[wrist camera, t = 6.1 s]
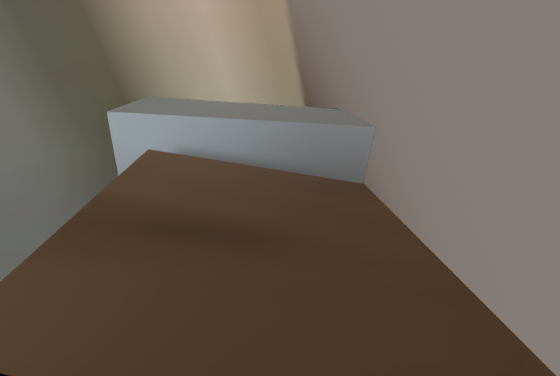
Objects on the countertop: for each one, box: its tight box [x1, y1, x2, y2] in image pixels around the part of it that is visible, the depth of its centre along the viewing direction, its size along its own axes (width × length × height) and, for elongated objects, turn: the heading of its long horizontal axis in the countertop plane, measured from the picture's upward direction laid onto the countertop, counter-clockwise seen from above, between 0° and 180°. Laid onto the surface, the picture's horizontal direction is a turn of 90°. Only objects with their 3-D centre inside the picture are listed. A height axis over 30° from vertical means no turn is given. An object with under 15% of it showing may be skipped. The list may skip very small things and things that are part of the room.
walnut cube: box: [0, 149, 556, 376], centre depth 6 cm, size 6×6×6 cm
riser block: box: [107, 97, 376, 184], centre depth 12 cm, size 8×8×4 cm
